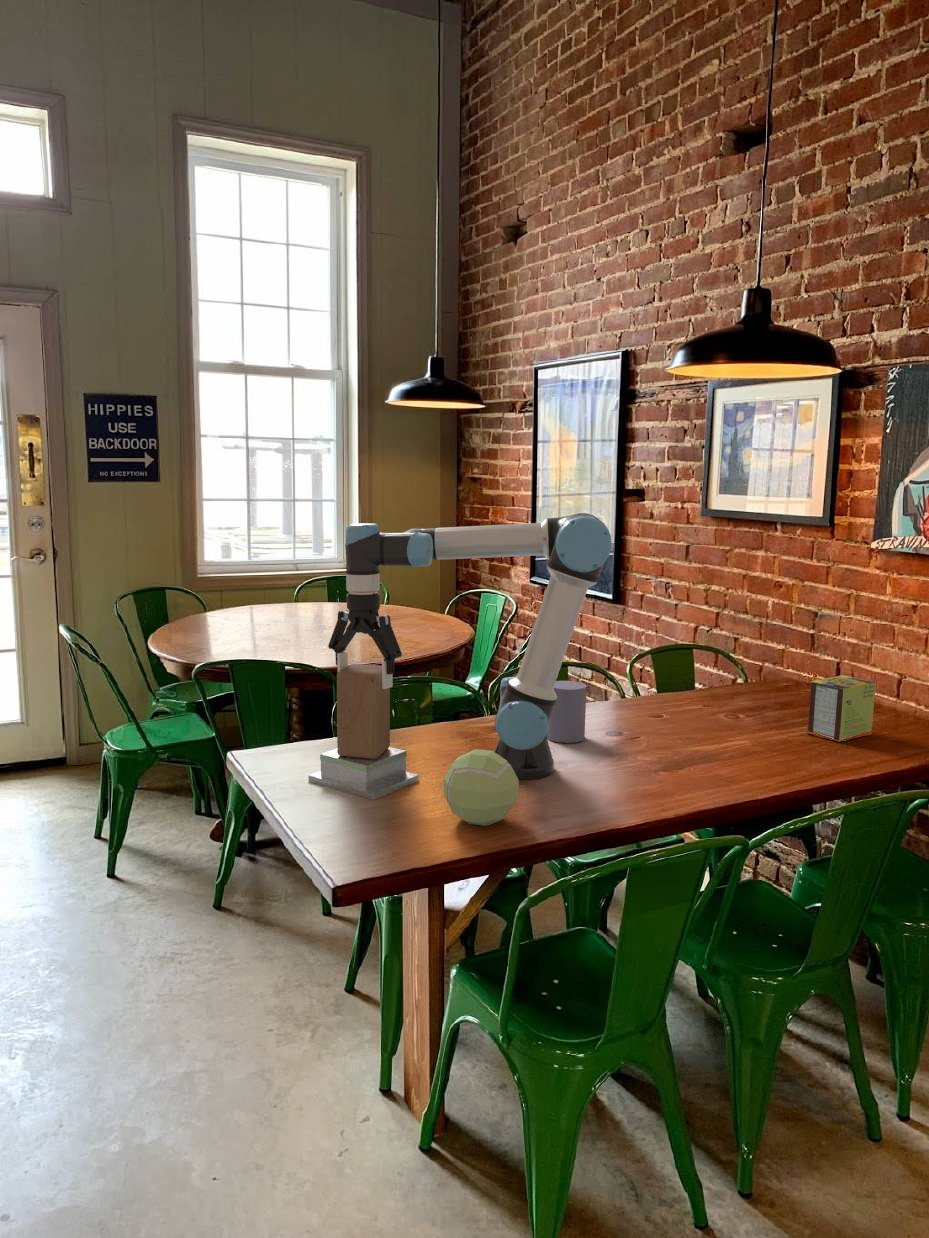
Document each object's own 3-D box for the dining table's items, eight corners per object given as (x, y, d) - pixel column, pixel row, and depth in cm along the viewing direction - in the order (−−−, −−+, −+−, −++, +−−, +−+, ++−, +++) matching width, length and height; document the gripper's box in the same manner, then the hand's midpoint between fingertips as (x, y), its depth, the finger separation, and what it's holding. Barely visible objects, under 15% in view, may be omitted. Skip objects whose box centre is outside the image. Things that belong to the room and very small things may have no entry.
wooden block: (377, 760, 211) (377, 674, 208) (335, 756, 214) (335, 671, 210) (391, 747, 221) (391, 665, 218) (351, 744, 223) (350, 662, 220)
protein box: (872, 735, 262) (876, 681, 260) (839, 743, 254) (843, 688, 251) (839, 726, 271) (843, 674, 268) (806, 734, 262) (810, 680, 260)
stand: (418, 780, 219) (418, 752, 218) (373, 800, 206) (373, 769, 205) (355, 764, 231) (354, 736, 229) (308, 781, 218) (308, 752, 217)
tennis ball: (456, 805, 204) (457, 739, 201) (523, 813, 200) (525, 745, 197) (435, 830, 190) (435, 759, 187) (506, 839, 185) (508, 767, 183)
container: (541, 741, 252) (543, 687, 250) (552, 731, 262) (554, 679, 259) (578, 745, 249) (580, 691, 246) (588, 735, 258) (590, 682, 256)
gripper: (416, 594, 207) (417, 687, 210) (334, 586, 221) (336, 673, 225) (395, 598, 201) (396, 694, 204) (311, 589, 215) (314, 679, 219)
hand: (364, 683), depth 215 cm, fingers open, 13 cm apart
